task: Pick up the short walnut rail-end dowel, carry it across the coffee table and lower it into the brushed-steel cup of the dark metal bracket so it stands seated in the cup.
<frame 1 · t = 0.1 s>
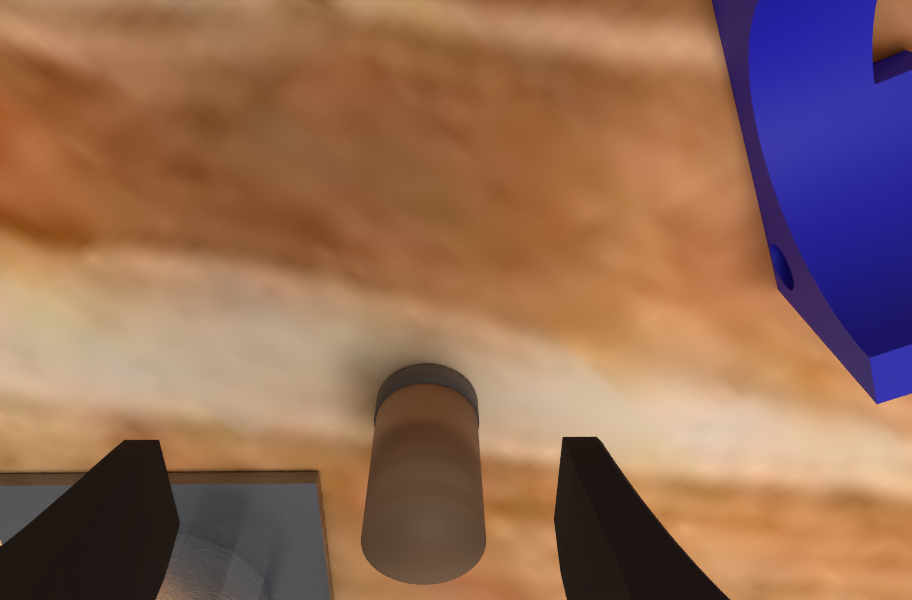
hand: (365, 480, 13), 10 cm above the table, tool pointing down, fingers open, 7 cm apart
cable clip: (814, 81, 20), on the table
cup bracket: (183, 583, 29), on the table
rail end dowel: (427, 405, 24), on the table
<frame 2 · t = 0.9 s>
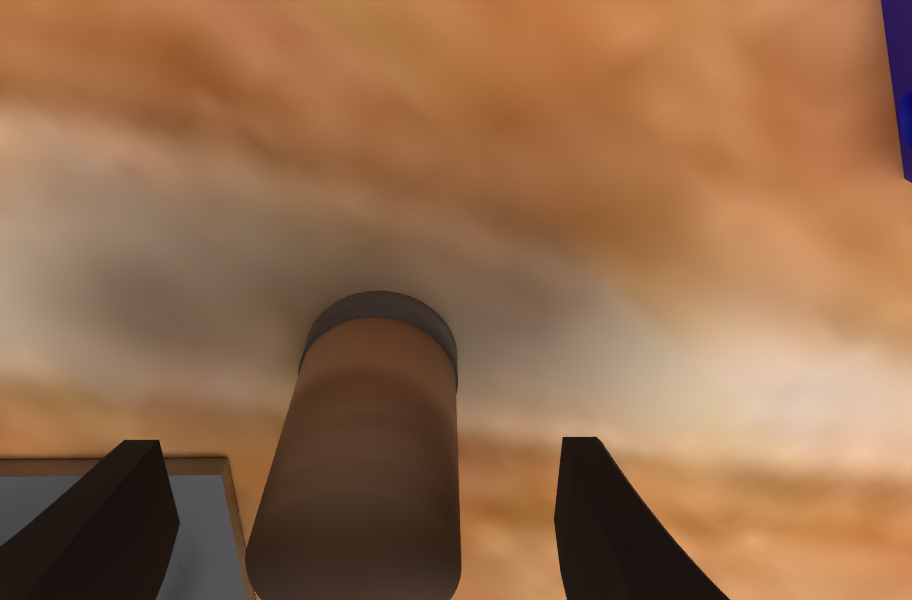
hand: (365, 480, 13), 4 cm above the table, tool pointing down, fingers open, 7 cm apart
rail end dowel: (381, 357, 16), on the table
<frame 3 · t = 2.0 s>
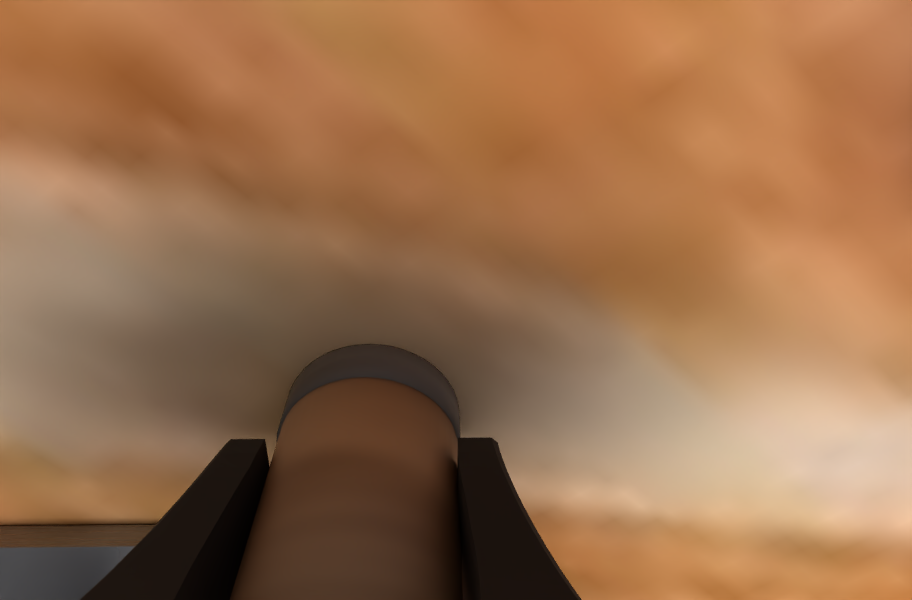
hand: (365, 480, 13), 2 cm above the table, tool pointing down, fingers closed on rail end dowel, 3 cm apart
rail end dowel: (373, 416, 14), on the table, touching gripper
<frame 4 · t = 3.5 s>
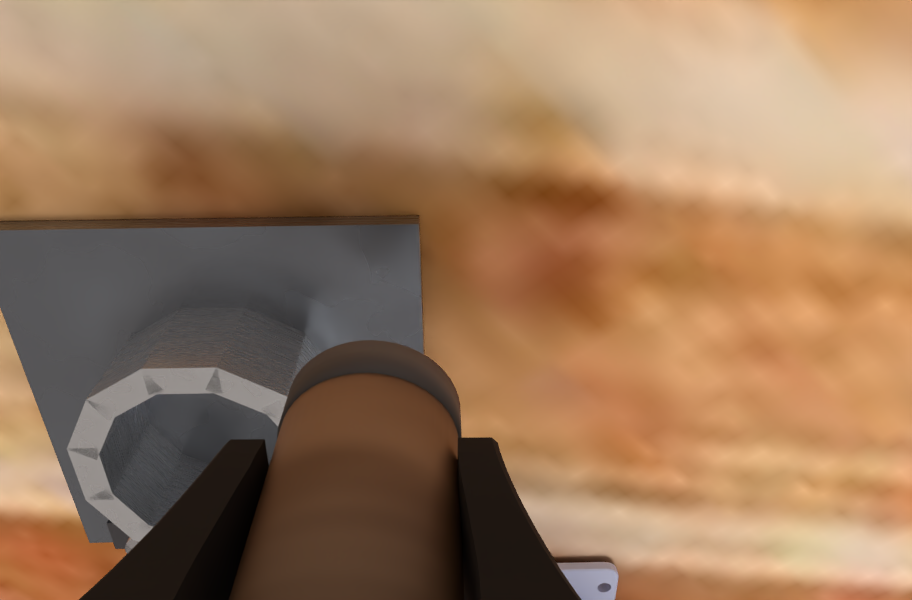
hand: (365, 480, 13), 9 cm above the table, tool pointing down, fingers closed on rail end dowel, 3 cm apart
cup bracket: (237, 392, 23), on the table
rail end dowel: (374, 412, 14), point 7 cm above the table, touching gripper
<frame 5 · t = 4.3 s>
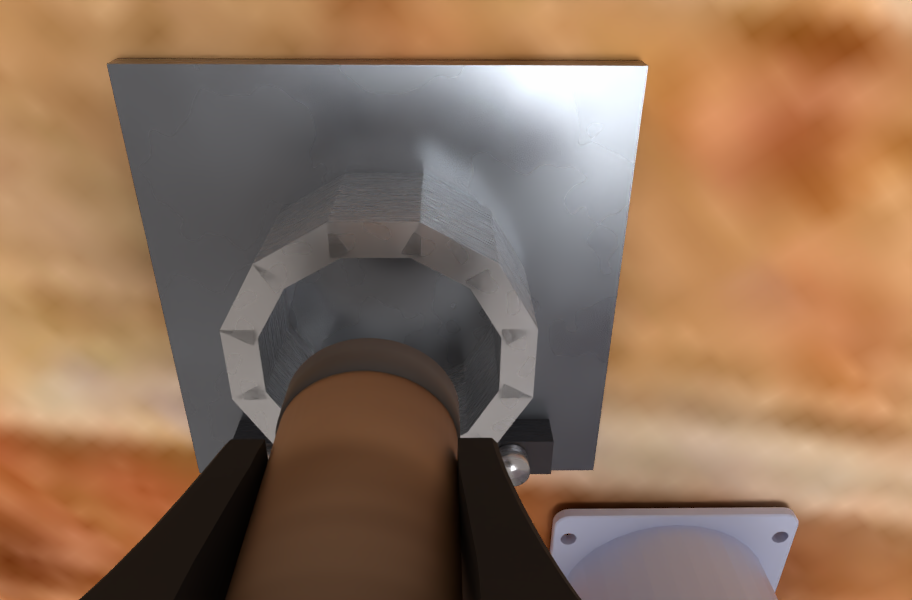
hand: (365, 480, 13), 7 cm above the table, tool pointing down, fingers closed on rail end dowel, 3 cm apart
cup bracket: (391, 289, 19), on the table
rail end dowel: (372, 410, 14), point 5 cm above the table, touching gripper
when the fingers open (4 cm above the table, at t = 5.1 s): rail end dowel drops 2 cm, resting on cup bracket.
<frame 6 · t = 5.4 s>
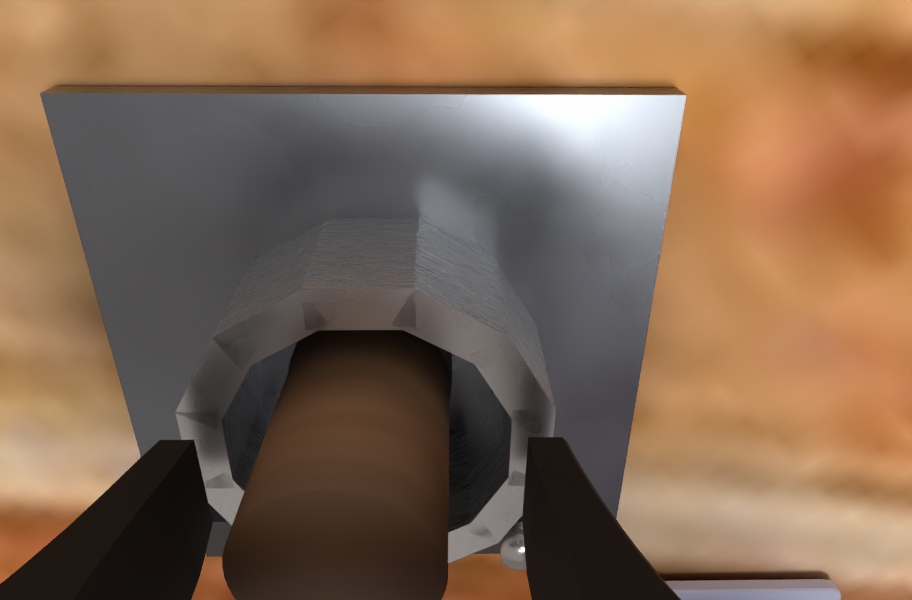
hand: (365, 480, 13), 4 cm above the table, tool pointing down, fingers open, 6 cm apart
cup bracket: (382, 346, 17), on the table
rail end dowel: (374, 357, 16), point 1 cm above the table, touching cup bracket
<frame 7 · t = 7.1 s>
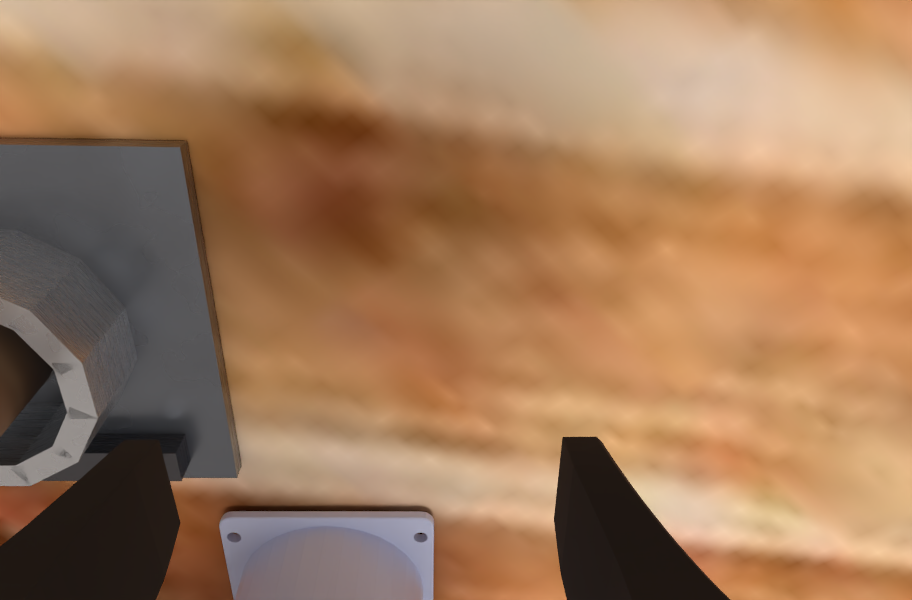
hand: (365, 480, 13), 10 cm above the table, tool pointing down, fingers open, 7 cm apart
cup bracket: (27, 322, 22), on the table
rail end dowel: (12, 329, 22), point 1 cm above the table, touching cup bracket
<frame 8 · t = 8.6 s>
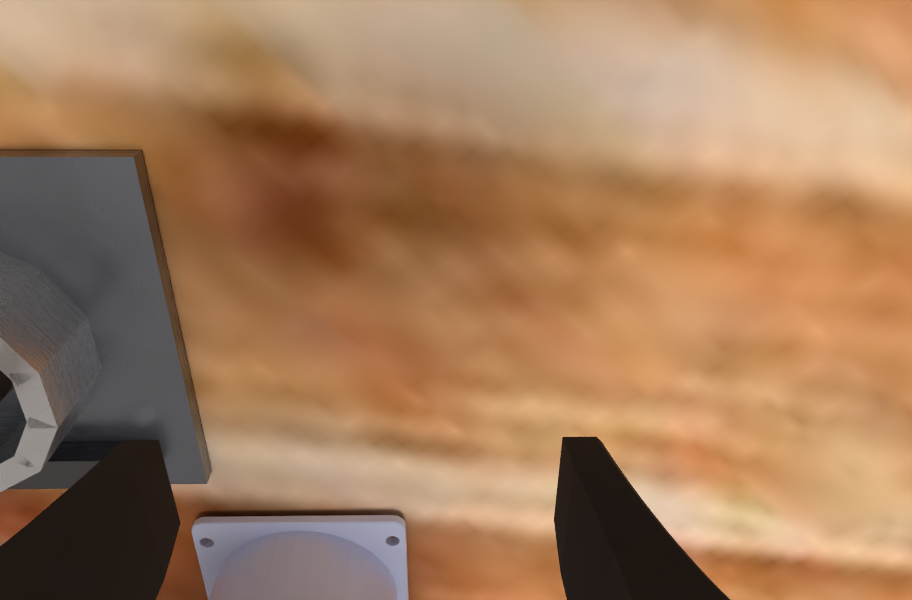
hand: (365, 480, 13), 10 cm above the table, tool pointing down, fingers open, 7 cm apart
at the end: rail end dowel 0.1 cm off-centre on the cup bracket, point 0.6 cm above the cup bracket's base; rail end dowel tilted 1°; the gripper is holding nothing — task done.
